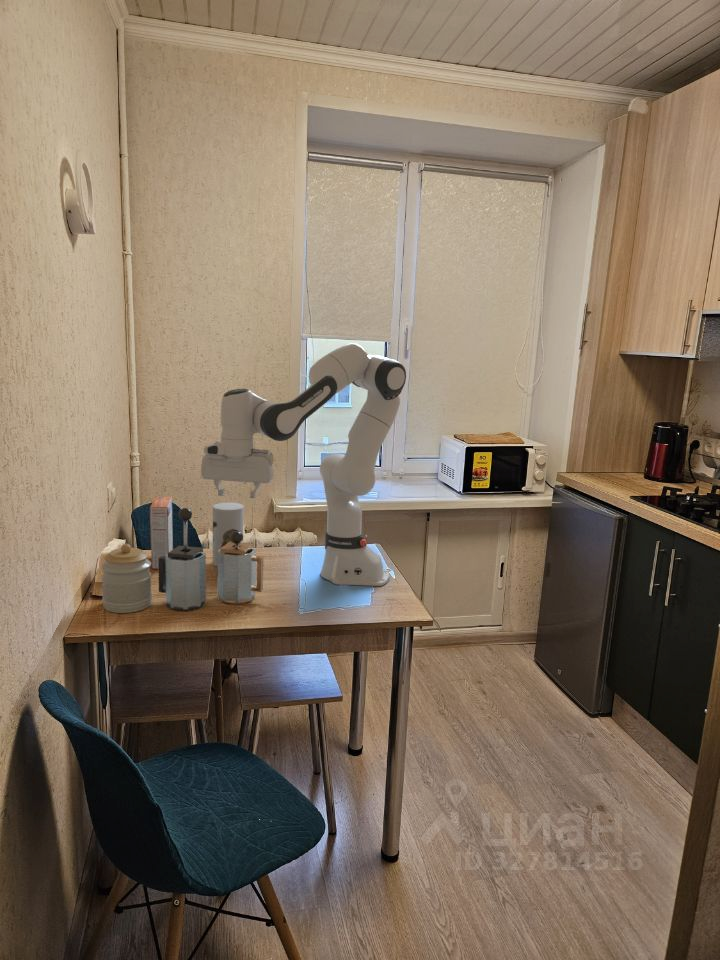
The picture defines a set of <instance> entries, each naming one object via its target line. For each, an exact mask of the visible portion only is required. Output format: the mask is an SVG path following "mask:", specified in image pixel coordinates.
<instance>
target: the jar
mask: <svg viewBox="0 0 720 960" xmlns="http://www.w3.org/2000/svg"><path fill="white" fill-rule="evenodd" d="M148 557H149V555H148V553H147V552H146V551H143V550H142V549H141V548H136V547H132V546H131V545H130V544H129V543H124V544H122V545H121V547H119V548H117V549H113V550H111V551H109V553H107V554H106V555H105V556H103V559H104V562H103V563H101V565H100V568H101V570H103V574H102V576H101V581H102V584H101V585H102V599H101V600H102V605H103V608H104V609H105V610H106V611H108V612H111V613H117V614H127V613H128V614H129V613H136V612H139V611H143V610H145V609H147V608H148V607H150V605H151V604H152V600H153V595H152V572H150V567H152V561H151V560H150V559H148Z"/></svg>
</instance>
